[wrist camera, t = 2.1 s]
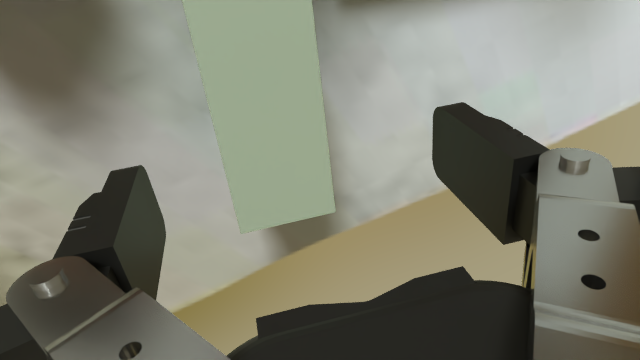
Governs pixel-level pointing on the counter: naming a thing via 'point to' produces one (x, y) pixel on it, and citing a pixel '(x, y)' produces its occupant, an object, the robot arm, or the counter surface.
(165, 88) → the counter surface
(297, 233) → the counter surface
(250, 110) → the key block
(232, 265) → the counter surface
